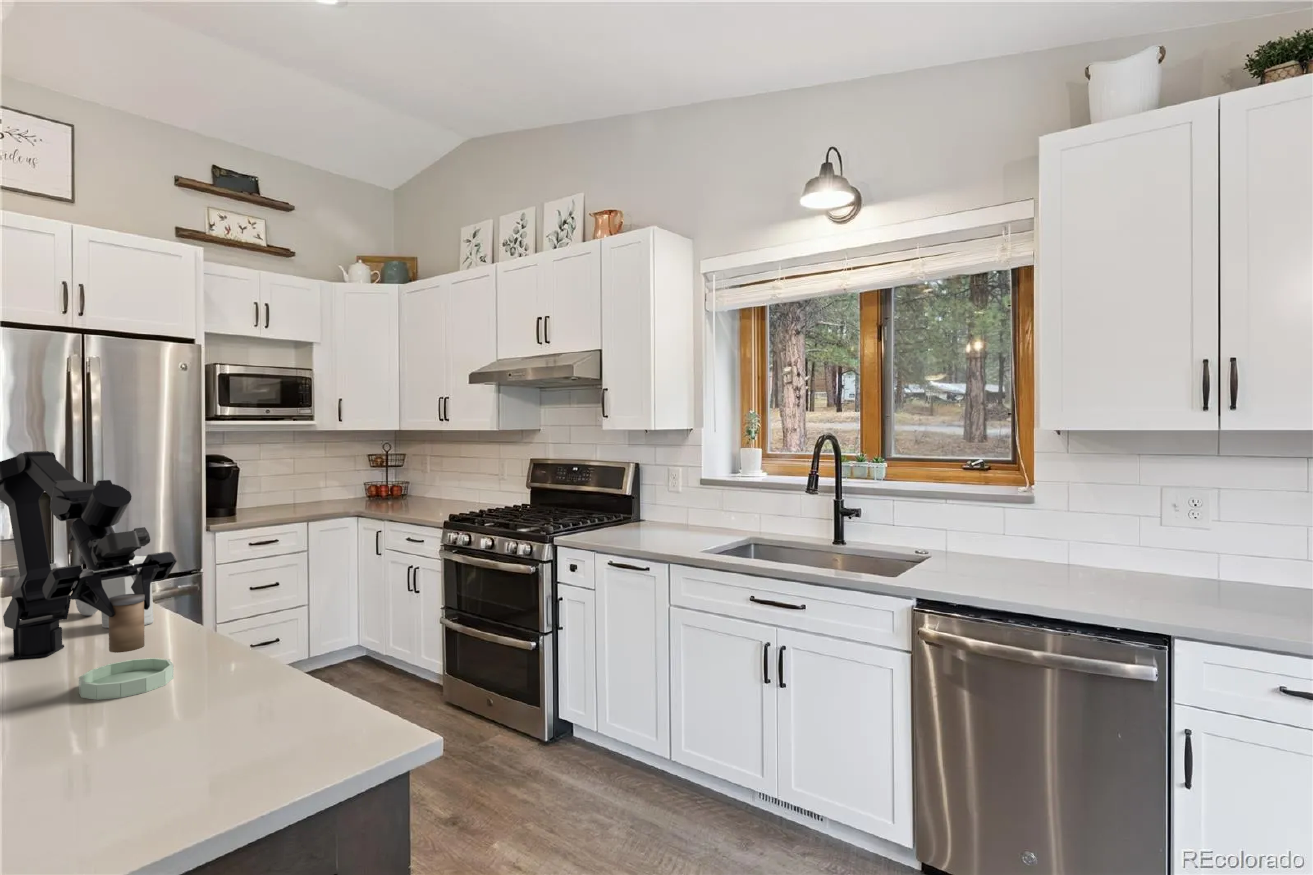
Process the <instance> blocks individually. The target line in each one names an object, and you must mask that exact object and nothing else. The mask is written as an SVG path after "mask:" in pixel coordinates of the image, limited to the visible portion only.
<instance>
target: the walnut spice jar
mask: <svg viewBox="0 0 1313 875" xmlns="http://www.w3.org/2000/svg"><path fill="white" fill-rule="evenodd" d="M109 600H110V602H111V604H112V606H113V609H114V612H115V614H114V616H113V617H109V628H108V651H109V652H110V653H114V654H116V653H127V652H132V651H133V652H134V651H136V650H139V649H143V648H144V647H145V643H146V642H145V641H146V640H145V625H144V600H145V595H144V594H125V595H119V596H114V597H111V598H109Z"/></svg>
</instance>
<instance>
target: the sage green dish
mask: <svg viewBox="0 0 1313 875" xmlns="http://www.w3.org/2000/svg"><path fill="white" fill-rule="evenodd" d="M173 679H174V663H173V662H172V661H171V660H170V659H167V658H161V657H160V658H159V657H148V658H147V657H146V658H135V659H129V660H123V661H118V662H112V663H109V664H108V663H107V664H105V665H102V666H99V667H97V668H93V669H90V670H88V671H86V672H85V673H83V674H81V675H80V676H79V677H78V693H79V695H80V698H82V699H83V698H84V699H90V700H95V701H97V700H99V701H100V700H108V699H109V700H111V699H121V698H127V697H130V696H135V695H139V694H144V693H148V692H150V691H154V690H155V689H159V688H161V687H163V686H166V685H167V684H168V683H170V682H171V681H172V680H173Z"/></svg>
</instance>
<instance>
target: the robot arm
mask: <svg viewBox="0 0 1313 875" xmlns="http://www.w3.org/2000/svg"><path fill="white" fill-rule="evenodd" d="M44 493H46V494H47V495H48V496H49V497H50V499H51V500H50V504H49V509H50V511H51V514H52V515H53V516H54V517H55V518H56V519H57V520H58V521H60V522H65V521H73V522H72V524H71V525H70V528H69V530H70V533H69V535H68V540H69V542H75V544H76V546H77V549H78V550H79V553H80V554H81V557H80V558H79V562H80V564H81V565H80V564H75V565H74V564H73V565H67V566H66V565H65V566H61V567H53V568H52V566H51V561H50V555H49V550H48V544H47V538H46V533H45V527H44V521H43V516H42V515H43V514H42V510H41V503H40V500H41V499H42V498H41V497H42V496H43V495H44ZM0 501H1V502H2V503H3V504H4V505H6V506H7V508H8V513H9V518H10V523H11V531H12V536H13V542H14V547H15V553H16V560H17V565H18V571H19V572H18V574H19V578H18V580H17V581H16V583H15V585H14V587H13V589H12V590H11V600H10V601H9V604H8V606H7V608H6V609H5V612H4V613H3V615H2V618H3V619H2V620H3V623H4V627H5V628H8V629H12V635H13V636H12V641H13V647H12V648H13V649H12V650H13V653H12V654H10V655H9V656H7V659H8V660H16V659H28V658H32V659H33V658H46V657H49V656H50V655H52V654H54V653H56V652H57V651H59V650H61V649H63V648H65V644H63V627H62V626H60V621H62V620H67V619H68V616H69V611H70V606H71V600H74V601H75V599H78V600H80V601H82V602H84V603H86V604H88V605H91V606H92V607H94V608H96V609H97V610H98V611H99V612H101V614H102V613H104V614H106V615H107V616H109V617H113V616H114V614H115V612H114V609H113V606H112V604H111V602H110V600H109V598H108V596H107V594H106V593H105V591H104V589H103V587H102V581H107V580H113V579H119V578H125V577H132V578H133V581H134V583H133V584H132V586H131V589H132V590H133V592H134V594H144V595H145V600H144V609H145V610H148V609H149V607H150V584H151V582H152V583H154V582H159V581H163V580H166V579H168V577H169V575H170V574H171V572H172V570H173V569H174V566H175V565H176V563H177V562H178V560H177V558H176V556H175V554H174V553H172V552H171V551H163V552H157V553H156V552H155V553H150V554H149V553H148V554H147V555H146V556H147V557H146V558H145V560H144V562H143V563H140V564H130V563H129V561H130V560H133V559H134V557H135V556H136V554H135V552H136V551H137V550H140V549H141V548H142V547H146V546H147V545H148V544H150V543H151V537H150V533H149V531H148V529H147V528H146V526H145V527H135V528H134V529H133V530H130V531H129V530H128V531H127V530H126V531H120V532H115V530H114V528H113V526H115V525H117V524H118V523H120V521H121V520H122V517H123V515H124V514H125V512H126V510H127V509H128V506H129V504H130V503H131V501H132V493H131V492H130V491H129V490H127V488H124V487H123V486H122V485H119V484H115V483H112V480H111V479H104V480H103V479H102V480H100V479H99V480H97V481H96V483H95V484H93V483H88V482H85V481H81V480H78V479H77V478H76V477H75V475H73V474H72V473H71V472H70V471H68V470H67V468H65V466H64V465H62V464H61V463H60V462H59V461H58V460H57V457H56V454H55V453H54V452H53V451H49V450H41V451H37V450H36V451H33V450H32V451H23V452H20V453H19V454H17V455H15V456H13V457H10V458H7V459H4V460H1V461H0ZM82 565H85V566H86V567H87V568H83V567H82Z"/></svg>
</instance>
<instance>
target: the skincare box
mask: <svg viewBox="0 0 1313 875" xmlns="http://www.w3.org/2000/svg"><path fill="white" fill-rule="evenodd" d="M146 557H147V555H146V556H144V555H135V557H134V559H133V560H130V561H129V563H130V564H140V563H143V562H144V560H145V558H146ZM133 583H134V581H133V578H132V577H125V578H119V579H113V580H107V581H102V587H103V589H104V591H105V593H106V594H107V596H108V598H111V597H114V596H119V595H125V594H134V592H133V590H132V589H131V586H132V584H133ZM152 585H153V582H151V584H150V607H149V609H148V610H145V609H144V626H146V625H150V624H153V623H154V622H155V620H154V602H153V601H154V600H153V586H152ZM101 627H102V628H106V629H109V616H107V615H106V614H104V613H102V612H101Z"/></svg>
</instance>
